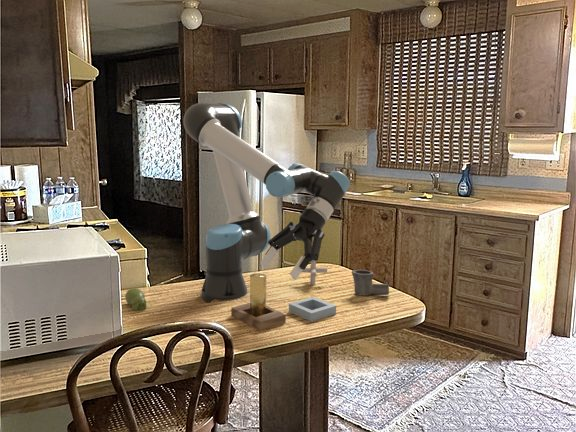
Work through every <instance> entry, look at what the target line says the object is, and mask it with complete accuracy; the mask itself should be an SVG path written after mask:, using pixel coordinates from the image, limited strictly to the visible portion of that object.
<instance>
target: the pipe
mask: <svg viewBox="0 0 576 432" xmlns="http://www.w3.org/2000/svg"><path fill="white" fill-rule="evenodd" d="M351 275H352V278H353V283H354V293H355V294H356V295H357V296H364V297H365V296H369V295H370V296H372V295H373V296H388V295H390V285H389V283H373V276H374V272H373V271H371V270H366V269H355V270H354V269H353V270H351Z"/></svg>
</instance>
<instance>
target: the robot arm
mask: <svg viewBox="0 0 576 432" xmlns="http://www.w3.org/2000/svg"><path fill="white" fill-rule="evenodd" d="M242 126H243V121H242V116H241V114H240V112H239V111H238V110H237V109H236V107H234V106H233V105H231V104H227V103H222V102H218V103H209V102H207V103H206V102H198V103H194V104H192V105H191V106H190V107H188V108H187V110H186V111H185V113H184V116H183V127H184V129H185V132H186V133H187V134H188V136H189V137H191V139H192V140H194V141H195V142H197V143H198V144H200V145H201V146H203V147H206V146H207V148H209V149H210V150H212V154H213V157H214V161H215V165H216V168H217V172H218V177H219V181H220V185H221V188H222V193H223V196H224V200H225V205H226V207H227V213H228V216H229V218H228V220H227V222H226V223H223V224H217V225H214V226H212V227H210V228H209V229H208V230H207V231H206V233H205V236H206V237H205V243H204V244H205V259H206V261H205V262H206V265H205V266H206V267H205V268H206V269H205V270H206V274H205V278H204V281H203V285H202V287H201V291H200V293H201V294H200V295H201V299H202V300H203V301H204V302H207V303H212V302H213V301H215V300H216V301H217V300H218V301H230V300H231V301H232V300H236V299H240V298H242V297H245V296H247V294H248V288H247V285H246V281H245V279H244V276H243V261H245V260H247V259H250V258H252V257H257V256H259V255H260V254H261V253H263V252H265V251H266V250H267V251H266V253H265V254H264V257H263V259H262V260H261V261H260V262H259V264H260V265H261V267H263V268H264V269H265V270H267V269H268V268H269V266H270V264H271V263H272V262H273V260H274V258H275V257H276V255H277V254H278V253H279V250H280V249H281V248H283V247H285V246H287V245H288V244H290V243H292V242H296V241H299V242H300V241H301V242H302V243H303V248H304V249H303V250H304V254H303V255H301V256H300V258H299V259H298V260H297V262H296V264H295V265H294V267H293V268H292V270H291V271H290V273H289V275H290V276H291V278H293V280H297V279H298V278H299V276H300V275H301V273H303V272H302V270H304V269H305V268H308V265H309V263H311V261H312V260H315V261H316V262H317V261H318V260H319V256H320V250H321V245H322V241H323V239H324V237H325V233H324V231H323V230H322V229H323V228H324V226H325V225H326V222H328V221H329V218H330V217H331V216H332V214H333V213H334V211H335V210H336V207H338V205H339V204H340V202H341V201H342V199H343V198H344V196H345V195H346V193H347V191H348V190H349V188H350V185H351V181H350V179H349V178H348V177H347V175H346V174H344V173H342V172H341V171H339V170H332V171H330V173H328V174H325V173H322V172H319V171H317V170H315V169H313V168H310V167H308V166H307V165H306V164H301V163H299V162H294V163H292V165H290V166H288V169H287V168H286V167H285V166H283V165H281V164H280V163H278V162H277V161H276V160H274V159H272V158H271V157H269V156H268V155H267V154H265V153H263V152H262V151H260V150H259V149H257V147H254V146H253V145H251V144H249V143H248V142H246V140H244V139H243V138H241V137H240V132H241V128H242ZM244 171H245V172H246V173H248V174H249V175H251V176H252V177H253V178H255V179H257V180H258V181H259V182H261V183H262V184H264V185H265V188H266V190H267V192H268V194H269V195H271V196H272V197H275V198H285V197H288V196H293V195H295V194H300V193H306V194H309V195H310V196H313V197H312V199H311V200H310V201H309V203H308V204H307V206H306V208H305V209H304V210H303V211H302V213H301V214H300V216H299V218H298V219H299V221H298V222H297V224H295V223H293V221H290V222H289V223H288V224H287V225H286V226H285V227H284V228H283V229H282V230H280V231H279V232H278V233H277V234H276V235H274V236H273V237H272V238H271V232H270V229H269V226H268V225H267V224H265V223H264V221H262V220H261V217H260V214H259V213H257V212H256V211H254V207H253V204H252V199H251V195H250V191H249V188H248V184H247V180H246V175H245V172H244ZM269 246H270V247H269ZM268 247H269V248H268Z"/></svg>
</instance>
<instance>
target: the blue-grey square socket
mask: <svg viewBox="0 0 576 432" xmlns="http://www.w3.org/2000/svg"><path fill="white" fill-rule="evenodd" d="M288 313H290V314H292V315H296V316H298V317H300V318H301V319H305V320H307V321H309V322H314V321H315V322H316V321H318V320H321V319H324V318H327V317H330V316H334V315H336V314H337V305H335V304H333V303H331V302H327V301H325V300H322V299H320V298H318V297H315V296H311V297H308V298H307V297H306V298H305V299H302V300H301V299H300V300H297V301H294V302H290V303H288Z"/></svg>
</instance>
